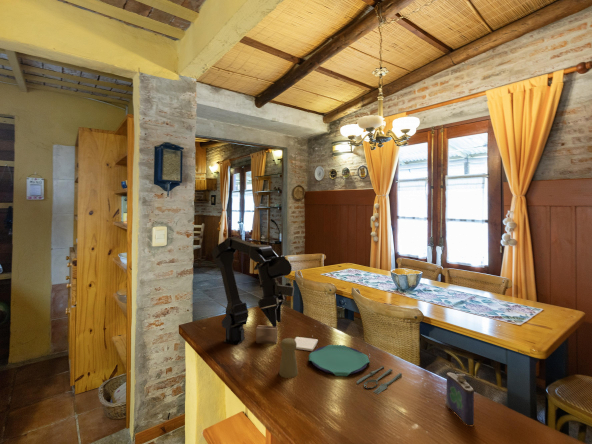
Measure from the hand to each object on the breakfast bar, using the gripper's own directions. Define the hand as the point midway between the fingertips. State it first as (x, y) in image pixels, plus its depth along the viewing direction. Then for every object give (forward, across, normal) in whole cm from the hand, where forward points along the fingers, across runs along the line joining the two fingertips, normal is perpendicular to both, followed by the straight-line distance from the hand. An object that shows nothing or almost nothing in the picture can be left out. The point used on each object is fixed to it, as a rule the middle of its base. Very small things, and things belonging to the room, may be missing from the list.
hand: (277, 324), depth 108 cm
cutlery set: (+20, +1, -21) cm, 29 cm away
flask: (+29, -20, -46) cm, 58 cm away
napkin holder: (+8, +18, +9) cm, 21 cm away
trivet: (+12, +16, -6) cm, 21 cm away
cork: (+15, -5, -1) cm, 16 cm away
